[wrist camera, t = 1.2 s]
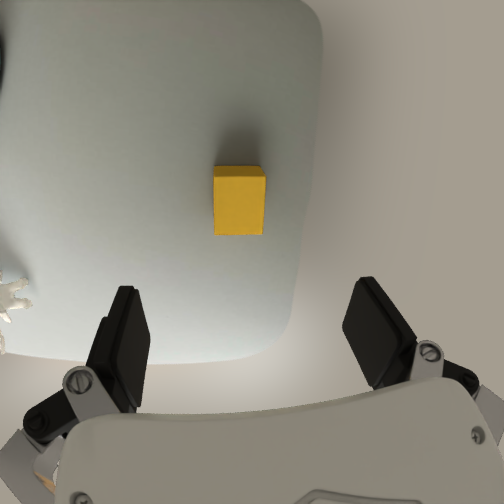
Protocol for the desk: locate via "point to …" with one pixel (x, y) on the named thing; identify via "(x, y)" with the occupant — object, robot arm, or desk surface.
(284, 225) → the desk surface
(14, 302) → the figurine
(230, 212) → the yellow block
